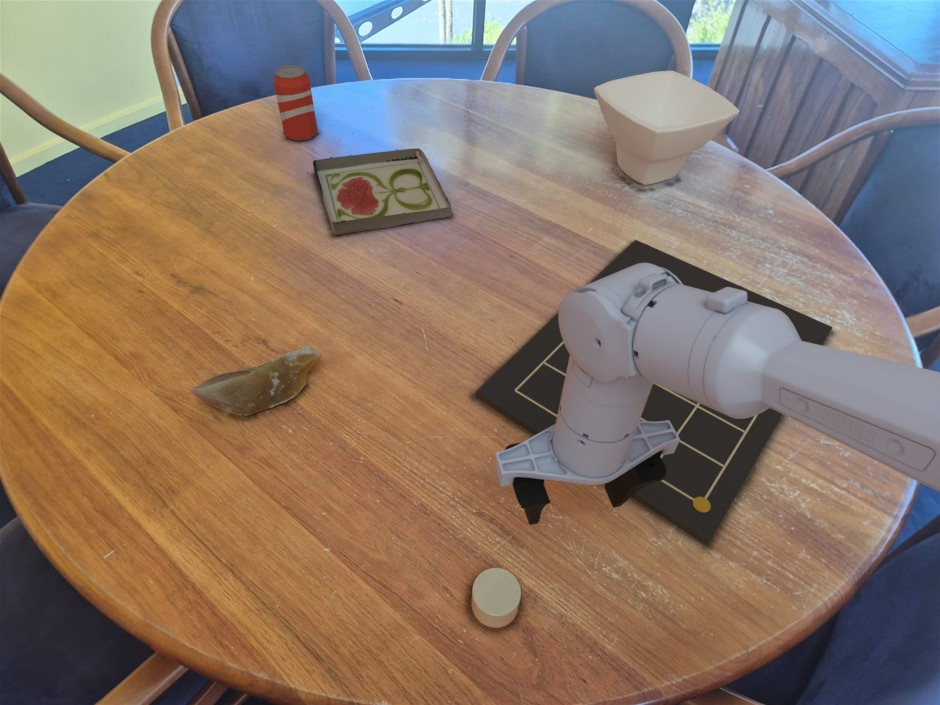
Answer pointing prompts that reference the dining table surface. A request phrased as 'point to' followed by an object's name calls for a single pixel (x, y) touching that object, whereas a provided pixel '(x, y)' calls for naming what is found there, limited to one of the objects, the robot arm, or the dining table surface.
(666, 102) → the bowl
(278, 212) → the dining table surface
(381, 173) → the decorative tile
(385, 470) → the dining table surface
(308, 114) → the beverage can
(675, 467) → the board
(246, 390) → the stone
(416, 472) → the dining table surface
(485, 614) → the cylinder
